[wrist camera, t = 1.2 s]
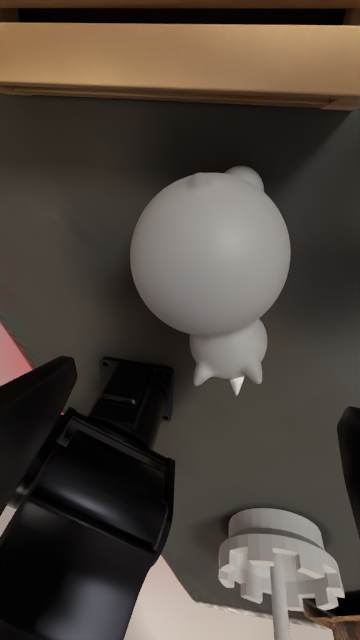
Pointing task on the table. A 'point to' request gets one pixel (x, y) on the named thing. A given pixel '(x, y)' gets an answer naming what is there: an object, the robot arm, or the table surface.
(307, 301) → the table surface
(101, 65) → the wooden pallet
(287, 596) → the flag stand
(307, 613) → the bird sculpture
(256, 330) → the round bodied animal figurine
